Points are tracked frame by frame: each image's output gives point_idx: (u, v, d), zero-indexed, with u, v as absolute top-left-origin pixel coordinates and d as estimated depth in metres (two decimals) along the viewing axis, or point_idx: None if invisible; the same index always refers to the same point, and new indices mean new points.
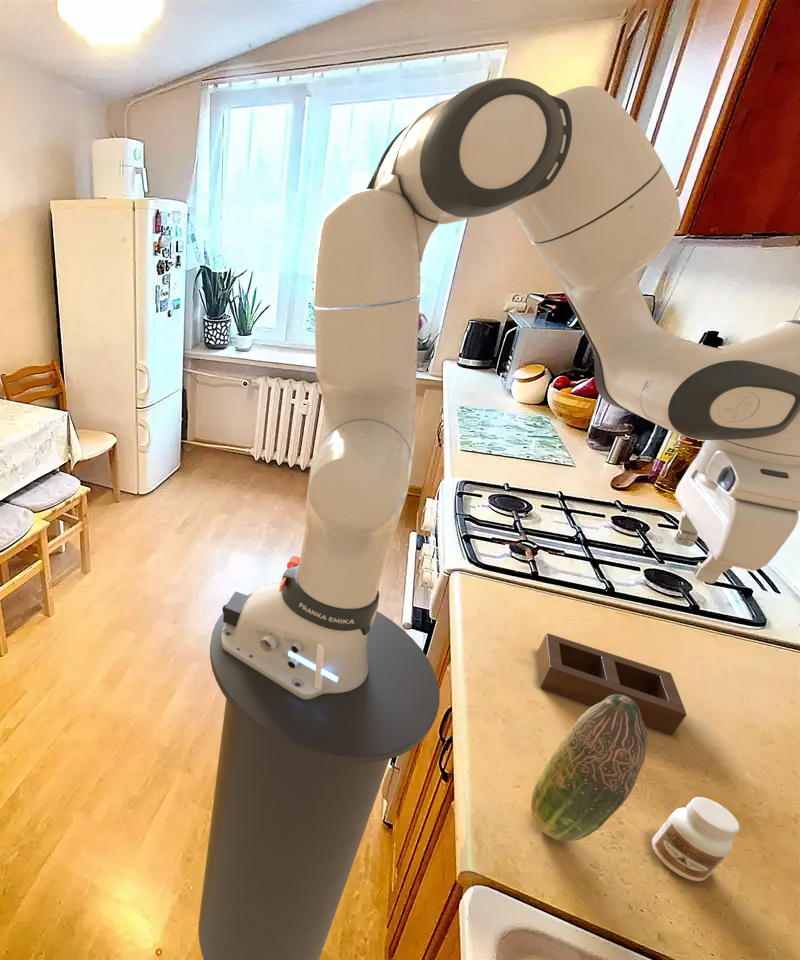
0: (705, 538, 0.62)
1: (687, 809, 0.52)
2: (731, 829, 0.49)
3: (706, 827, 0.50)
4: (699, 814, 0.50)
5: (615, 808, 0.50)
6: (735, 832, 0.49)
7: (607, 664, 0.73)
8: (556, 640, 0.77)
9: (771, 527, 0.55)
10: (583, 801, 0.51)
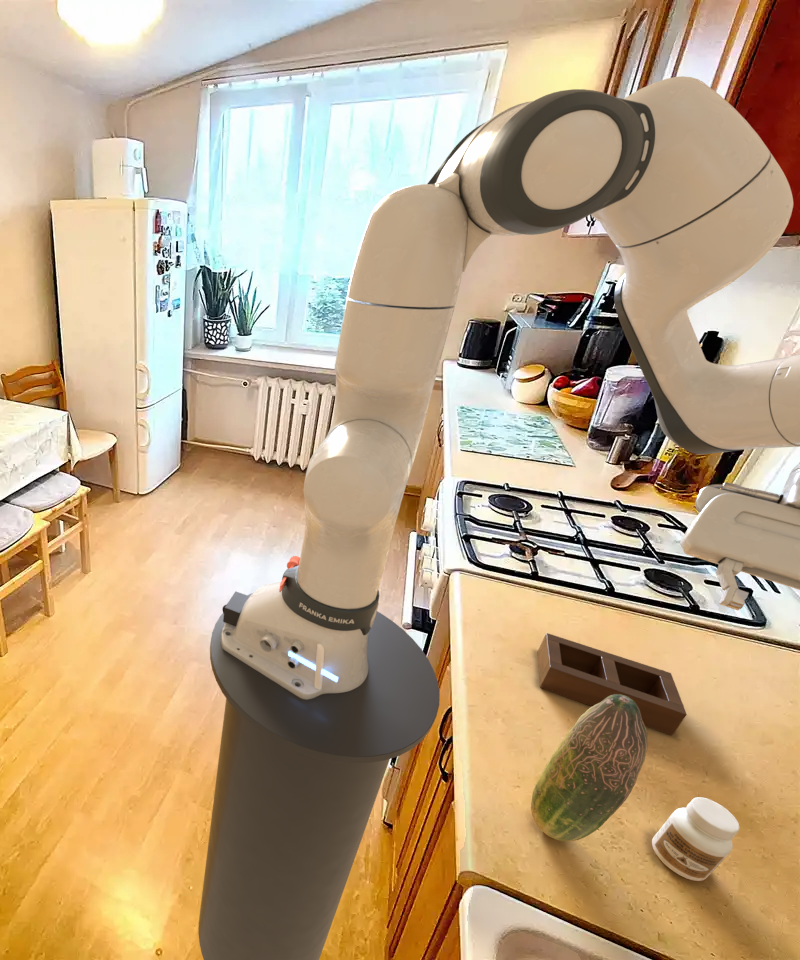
0: None
1: (687, 810, 0.52)
2: (731, 829, 0.49)
3: (706, 827, 0.50)
4: (699, 814, 0.50)
5: (615, 808, 0.50)
6: (735, 832, 0.49)
7: (607, 664, 0.73)
8: (556, 640, 0.77)
9: None
10: (583, 801, 0.51)
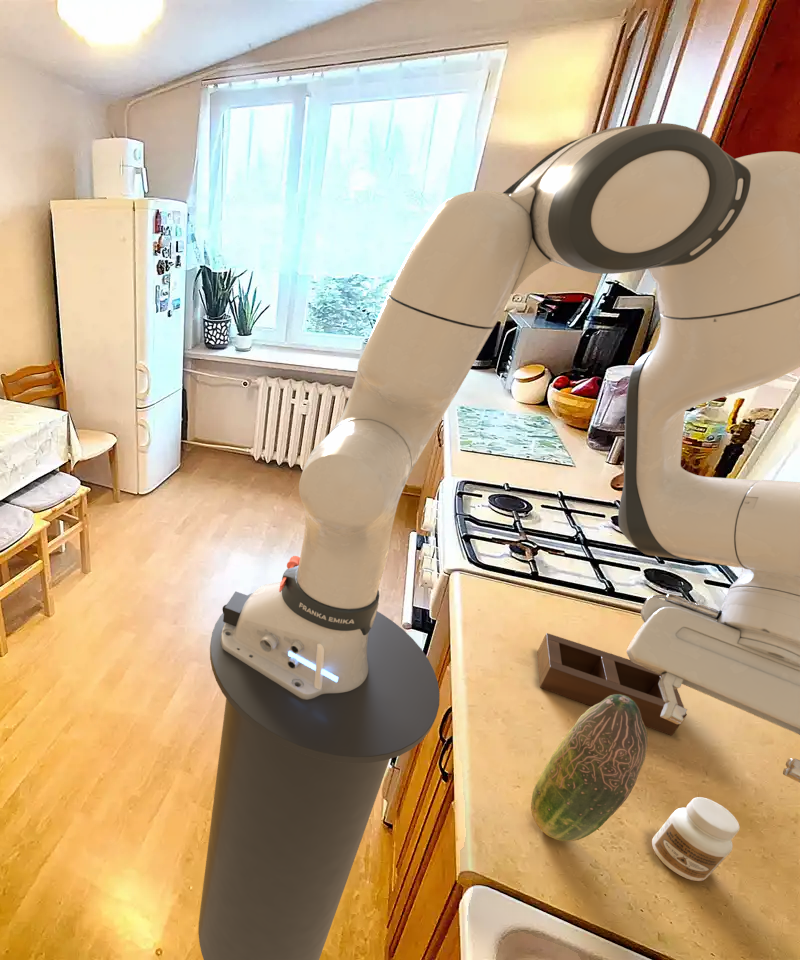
0: None
1: (687, 810, 0.52)
2: (731, 829, 0.49)
3: (706, 827, 0.50)
4: (699, 814, 0.50)
5: (615, 808, 0.50)
6: (735, 832, 0.49)
7: (607, 664, 0.73)
8: (556, 640, 0.77)
9: None
10: (583, 801, 0.51)
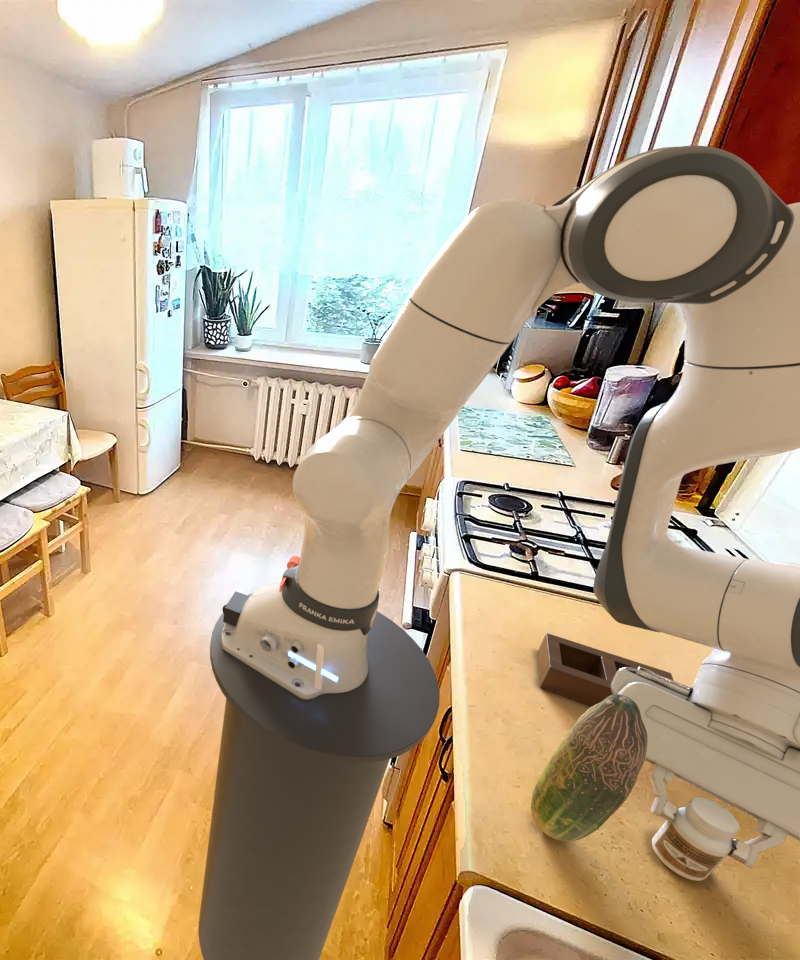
0: (797, 826, 0.48)
1: (687, 809, 0.52)
2: (731, 829, 0.49)
3: (706, 827, 0.50)
4: (699, 814, 0.50)
5: (615, 808, 0.50)
6: (734, 832, 0.49)
7: (607, 664, 0.73)
8: (556, 640, 0.77)
9: None
10: (583, 801, 0.51)
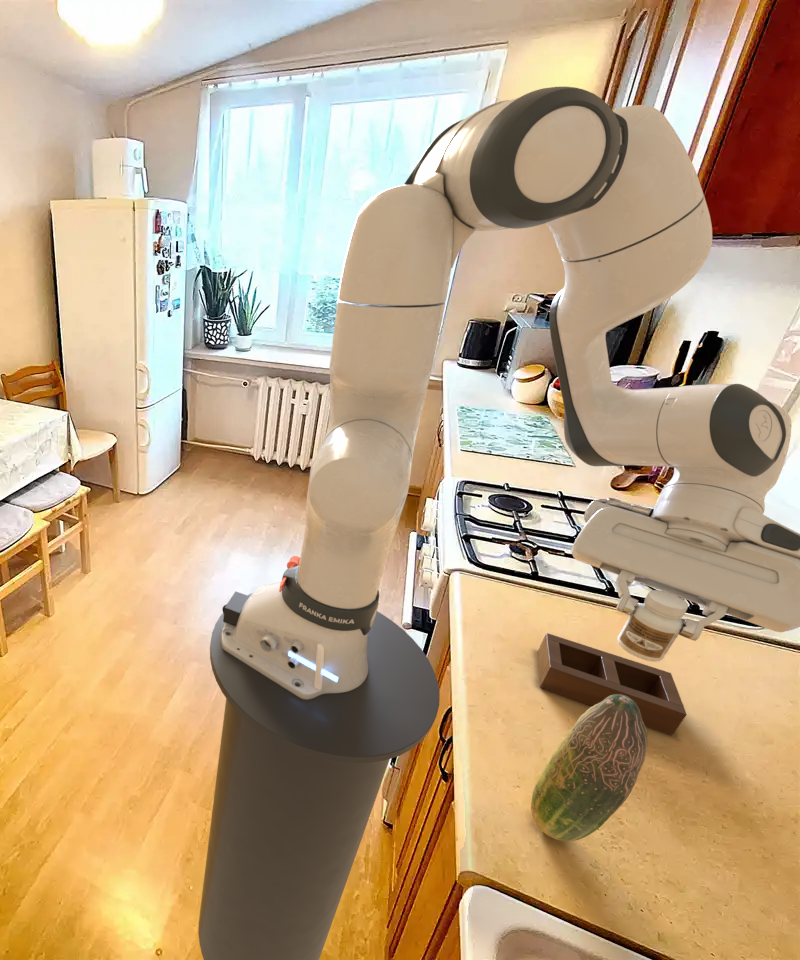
0: (736, 600, 0.57)
1: (645, 599, 0.61)
2: (681, 607, 0.58)
3: (660, 608, 0.59)
4: (654, 599, 0.59)
5: (615, 808, 0.50)
6: (684, 609, 0.58)
7: (607, 664, 0.73)
8: (556, 640, 0.77)
9: None
10: (583, 801, 0.51)
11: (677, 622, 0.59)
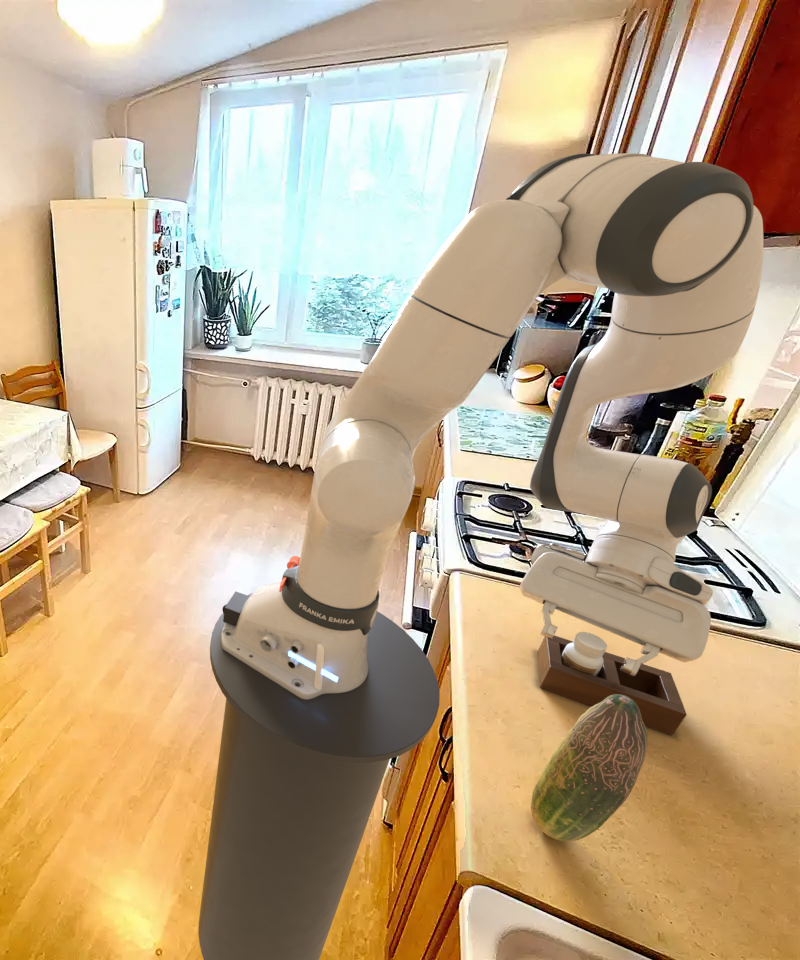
0: (648, 635, 0.68)
1: (574, 640, 0.73)
2: (600, 648, 0.70)
3: (584, 648, 0.71)
4: (580, 640, 0.71)
5: (615, 808, 0.50)
6: (603, 649, 0.70)
7: (607, 664, 0.73)
8: (556, 640, 0.77)
9: None
10: (583, 801, 0.51)
11: (598, 659, 0.71)
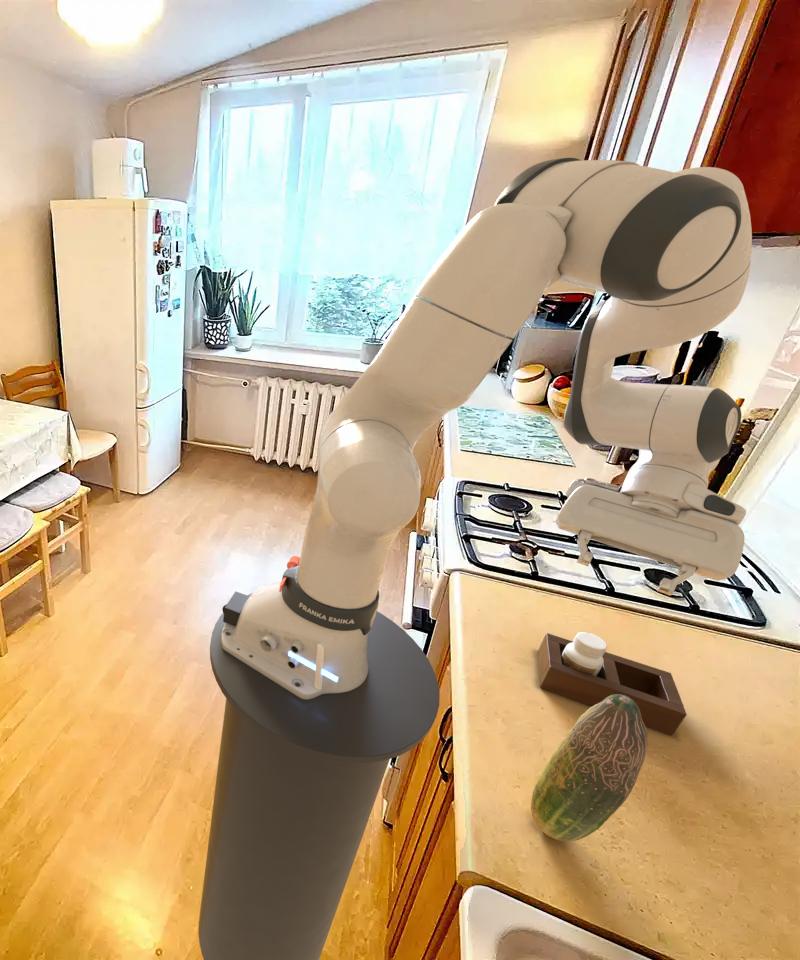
0: (684, 555, 0.72)
1: (574, 640, 0.73)
2: (600, 648, 0.70)
3: (584, 648, 0.71)
4: (580, 640, 0.71)
5: (615, 808, 0.50)
6: (603, 649, 0.70)
7: (607, 664, 0.73)
8: (556, 640, 0.77)
9: None
10: (583, 801, 0.51)
11: (598, 659, 0.71)
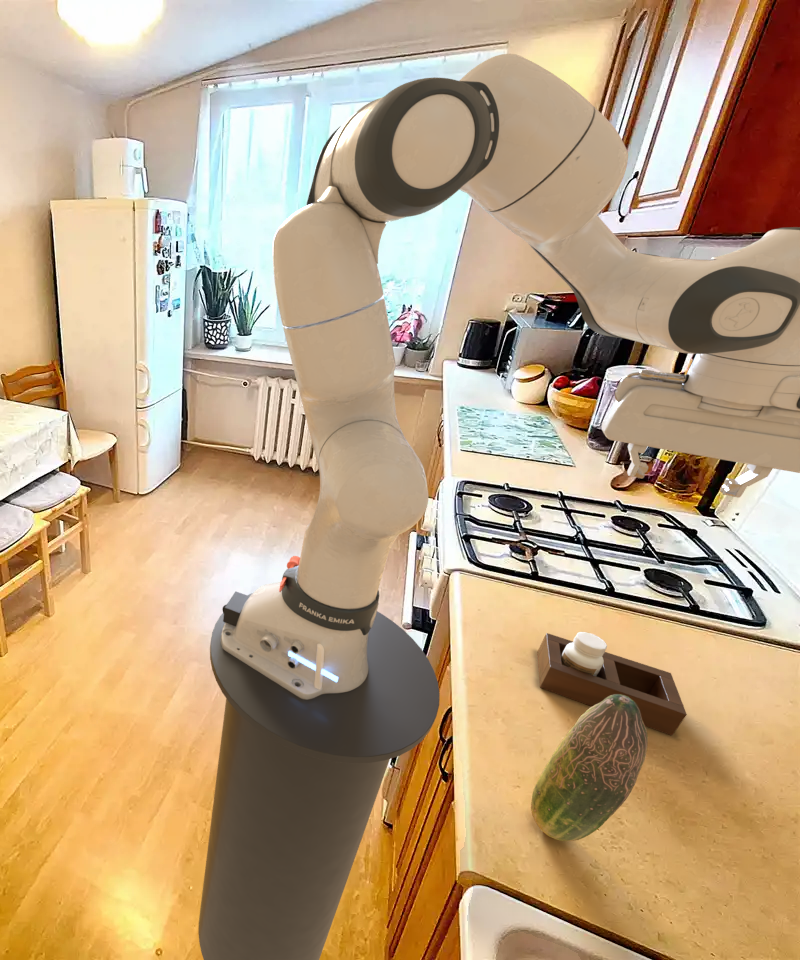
0: (759, 460, 0.61)
1: (574, 640, 0.73)
2: (600, 648, 0.70)
3: (584, 648, 0.71)
4: (580, 640, 0.71)
5: (615, 808, 0.50)
6: (603, 649, 0.70)
7: (607, 664, 0.73)
8: (556, 640, 0.77)
9: None
10: (583, 801, 0.51)
11: (598, 659, 0.71)
